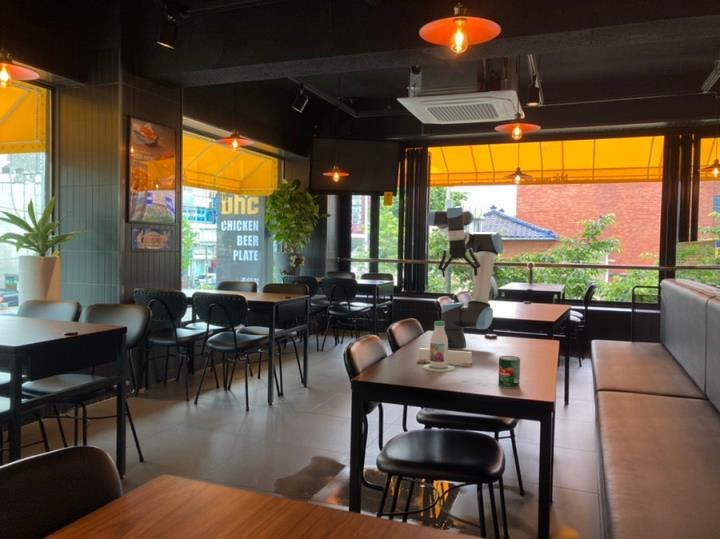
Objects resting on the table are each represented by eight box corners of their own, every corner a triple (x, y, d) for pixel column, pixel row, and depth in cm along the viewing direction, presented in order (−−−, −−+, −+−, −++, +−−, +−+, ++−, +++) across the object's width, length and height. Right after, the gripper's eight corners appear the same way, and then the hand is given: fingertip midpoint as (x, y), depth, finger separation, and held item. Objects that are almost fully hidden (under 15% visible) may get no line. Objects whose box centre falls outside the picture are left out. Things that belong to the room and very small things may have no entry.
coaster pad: (416, 366, 252) (416, 365, 252) (442, 364, 258) (442, 362, 258) (434, 373, 240) (434, 371, 240) (461, 370, 246) (461, 368, 246)
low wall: (417, 362, 262) (417, 349, 261) (421, 360, 267) (421, 347, 267) (469, 366, 253) (470, 353, 253) (472, 364, 259) (472, 351, 258)
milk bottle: (437, 364, 255) (437, 319, 254) (451, 366, 249) (451, 321, 248) (426, 366, 249) (426, 321, 248) (440, 369, 244) (441, 323, 243)
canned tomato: (497, 387, 217) (497, 358, 217) (499, 382, 224) (500, 355, 224) (518, 389, 214) (519, 360, 214) (520, 384, 221) (521, 356, 221)
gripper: (429, 241, 273) (433, 285, 275) (481, 237, 263) (484, 283, 265) (433, 240, 280) (437, 283, 282) (484, 236, 270) (488, 281, 272)
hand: (460, 283), depth 273 cm, fingers open, 13 cm apart
